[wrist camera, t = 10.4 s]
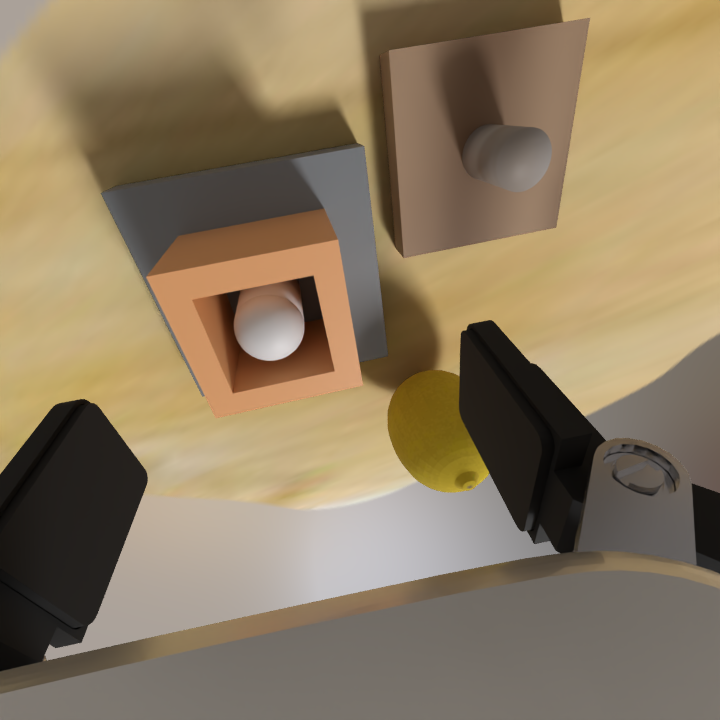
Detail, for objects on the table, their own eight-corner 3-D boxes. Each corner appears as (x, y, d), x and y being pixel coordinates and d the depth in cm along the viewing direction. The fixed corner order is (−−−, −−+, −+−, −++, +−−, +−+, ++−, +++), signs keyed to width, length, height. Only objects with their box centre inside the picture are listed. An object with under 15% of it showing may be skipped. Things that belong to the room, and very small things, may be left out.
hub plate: (357, 143, 16) (395, 160, 11) (381, 342, 22) (414, 415, 16) (115, 186, 15) (30, 226, 10) (207, 379, 21) (183, 468, 16)
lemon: (360, 404, 24) (390, 516, 17) (402, 333, 21) (456, 431, 15) (430, 423, 26) (481, 529, 19) (476, 360, 24) (552, 457, 17)
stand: (564, 25, 15) (658, -2, 11) (538, 219, 19) (600, 246, 15) (379, 54, 14) (414, 36, 11) (395, 248, 19) (424, 282, 15)
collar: (324, 208, 16) (338, 239, 12) (346, 331, 19) (363, 385, 15) (178, 235, 15) (146, 276, 11) (228, 356, 19) (215, 418, 15)
